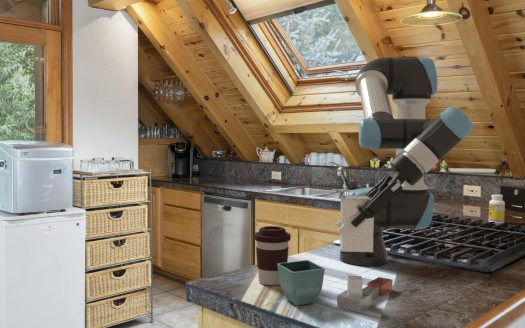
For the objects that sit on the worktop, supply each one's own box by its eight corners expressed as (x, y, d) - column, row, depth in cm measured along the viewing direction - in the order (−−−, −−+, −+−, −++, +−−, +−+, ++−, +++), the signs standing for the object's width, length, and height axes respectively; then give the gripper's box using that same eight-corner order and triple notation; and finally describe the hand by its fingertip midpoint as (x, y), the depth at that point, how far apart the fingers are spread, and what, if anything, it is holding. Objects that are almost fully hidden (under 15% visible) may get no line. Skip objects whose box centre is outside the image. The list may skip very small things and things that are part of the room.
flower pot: (292, 310, 120) (292, 272, 119) (276, 298, 128) (276, 263, 127) (325, 305, 124) (325, 268, 123) (307, 294, 132) (307, 259, 131)
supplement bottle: (487, 221, 243) (488, 193, 242) (502, 221, 241) (503, 194, 240) (489, 223, 237) (490, 195, 236) (505, 224, 235) (506, 196, 234)
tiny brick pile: (337, 307, 122) (337, 278, 122) (375, 286, 139) (375, 260, 138) (360, 312, 118) (360, 282, 118) (396, 290, 135) (397, 264, 135)
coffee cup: (248, 285, 139) (248, 230, 138) (261, 275, 148) (261, 223, 147) (283, 289, 136) (284, 232, 135) (294, 279, 145) (295, 226, 144)
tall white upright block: (342, 251, 118) (342, 199, 118) (340, 244, 125) (340, 195, 125) (373, 252, 118) (374, 199, 117) (369, 245, 125) (370, 196, 124)
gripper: (435, 178, 109) (356, 252, 112) (415, 171, 129) (348, 234, 132) (410, 153, 109) (331, 227, 112) (394, 150, 129) (328, 213, 132)
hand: (341, 231), depth 122 cm, fingers closed on tall white upright block, 7 cm apart
